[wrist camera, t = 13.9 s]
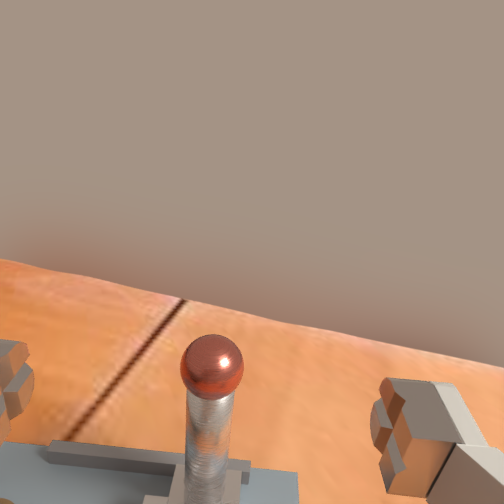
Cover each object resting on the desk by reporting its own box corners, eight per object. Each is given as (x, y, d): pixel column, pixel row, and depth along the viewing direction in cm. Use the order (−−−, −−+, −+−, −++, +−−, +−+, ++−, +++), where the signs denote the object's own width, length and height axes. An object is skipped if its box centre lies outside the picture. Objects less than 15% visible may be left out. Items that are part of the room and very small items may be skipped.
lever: (227, 638, 23) (253, 450, 16) (116, 625, 23) (93, 433, 16) (239, 487, 31) (260, 319, 24) (157, 478, 31) (153, 308, 24)
